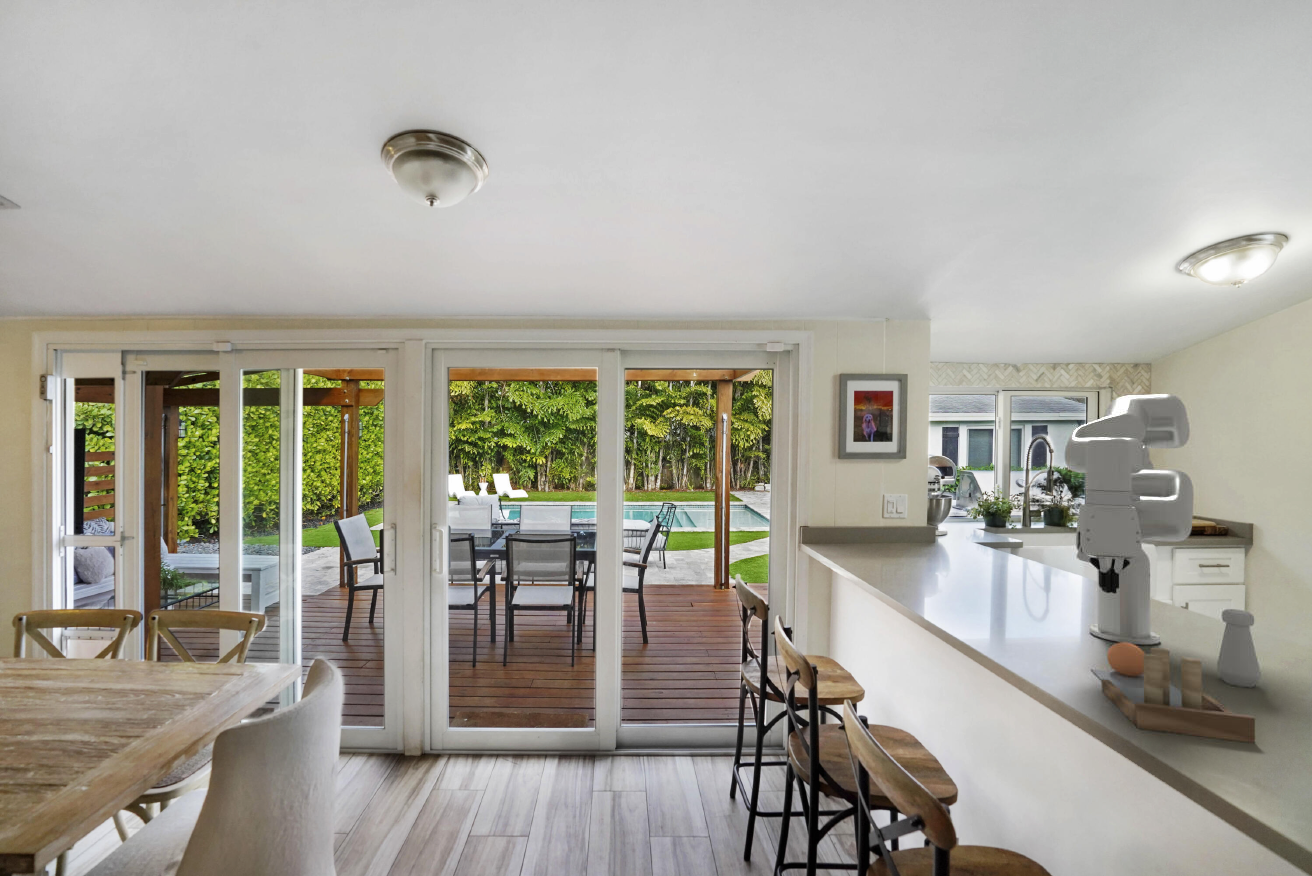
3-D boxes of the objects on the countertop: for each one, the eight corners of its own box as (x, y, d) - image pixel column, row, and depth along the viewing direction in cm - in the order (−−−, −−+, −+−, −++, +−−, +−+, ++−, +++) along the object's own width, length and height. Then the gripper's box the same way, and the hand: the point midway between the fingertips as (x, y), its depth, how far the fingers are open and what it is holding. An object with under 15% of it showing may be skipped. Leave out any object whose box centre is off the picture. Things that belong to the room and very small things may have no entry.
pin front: (1148, 701, 105) (1148, 647, 105) (1166, 703, 104) (1165, 648, 104) (1154, 706, 102) (1154, 651, 103) (1172, 708, 102) (1172, 653, 102)
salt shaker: (1269, 690, 109) (1268, 615, 109) (1231, 688, 110) (1230, 614, 111) (1245, 678, 115) (1244, 607, 115) (1209, 676, 116) (1208, 605, 116)
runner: (1090, 670, 119) (1090, 669, 119) (1160, 677, 116) (1160, 676, 116) (1148, 728, 94) (1148, 727, 94) (1239, 739, 91) (1239, 738, 91)
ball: (1102, 668, 120) (1102, 636, 120) (1140, 671, 118) (1139, 640, 118) (1114, 679, 115) (1113, 646, 115) (1153, 683, 113) (1153, 649, 113)
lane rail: (1102, 690, 109) (1101, 670, 109) (1200, 701, 105) (1200, 680, 105) (1138, 728, 94) (1138, 705, 94) (1254, 742, 90) (1254, 718, 90)
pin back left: (1178, 713, 100) (1178, 656, 100) (1197, 715, 99) (1196, 658, 99) (1186, 719, 98) (1185, 661, 98) (1205, 722, 97) (1204, 663, 97)
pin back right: (1141, 709, 101) (1140, 653, 102) (1159, 711, 101) (1158, 655, 101) (1147, 715, 99) (1147, 658, 99) (1166, 717, 98) (1165, 659, 98)
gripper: (1145, 499, 126) (1145, 591, 126) (1059, 497, 131) (1060, 585, 131) (1161, 502, 119) (1162, 599, 119) (1070, 499, 124) (1071, 592, 124)
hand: (1108, 591), depth 125 cm, fingers closed
